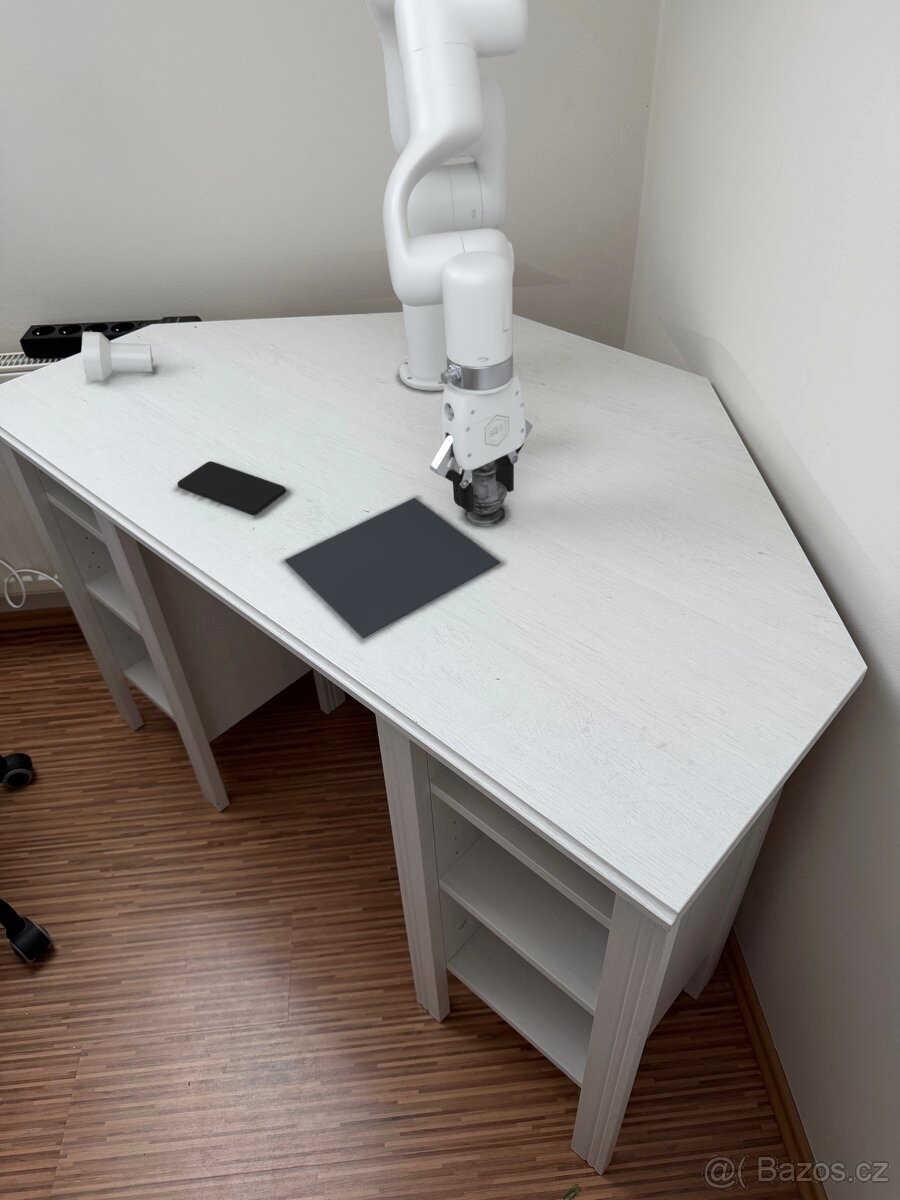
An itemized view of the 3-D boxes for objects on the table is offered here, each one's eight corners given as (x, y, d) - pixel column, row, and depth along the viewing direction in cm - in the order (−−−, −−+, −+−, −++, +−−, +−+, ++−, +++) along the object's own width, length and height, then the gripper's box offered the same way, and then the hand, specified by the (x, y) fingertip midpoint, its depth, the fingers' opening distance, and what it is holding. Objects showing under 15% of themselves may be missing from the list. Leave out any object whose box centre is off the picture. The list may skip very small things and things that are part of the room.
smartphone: (209, 459, 122) (287, 486, 115) (210, 464, 122) (288, 491, 116) (174, 483, 117) (253, 512, 111) (176, 488, 118) (255, 517, 111)
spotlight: (86, 361, 147) (80, 321, 141) (154, 363, 150) (151, 324, 144) (84, 390, 142) (77, 350, 136) (154, 391, 145) (150, 352, 139)
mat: (414, 499, 113) (414, 497, 113) (499, 563, 102) (499, 561, 102) (285, 561, 104) (284, 559, 104) (362, 638, 93) (362, 636, 93)
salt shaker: (503, 529, 107) (502, 449, 99) (458, 526, 108) (454, 446, 100) (510, 503, 111) (509, 423, 103) (467, 500, 112) (463, 421, 104)
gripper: (439, 405, 90) (449, 537, 102) (558, 354, 97) (553, 483, 109) (400, 381, 94) (413, 510, 106) (515, 334, 101) (516, 460, 113)
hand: (484, 495), depth 107 cm, fingers closed on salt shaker, 5 cm apart
